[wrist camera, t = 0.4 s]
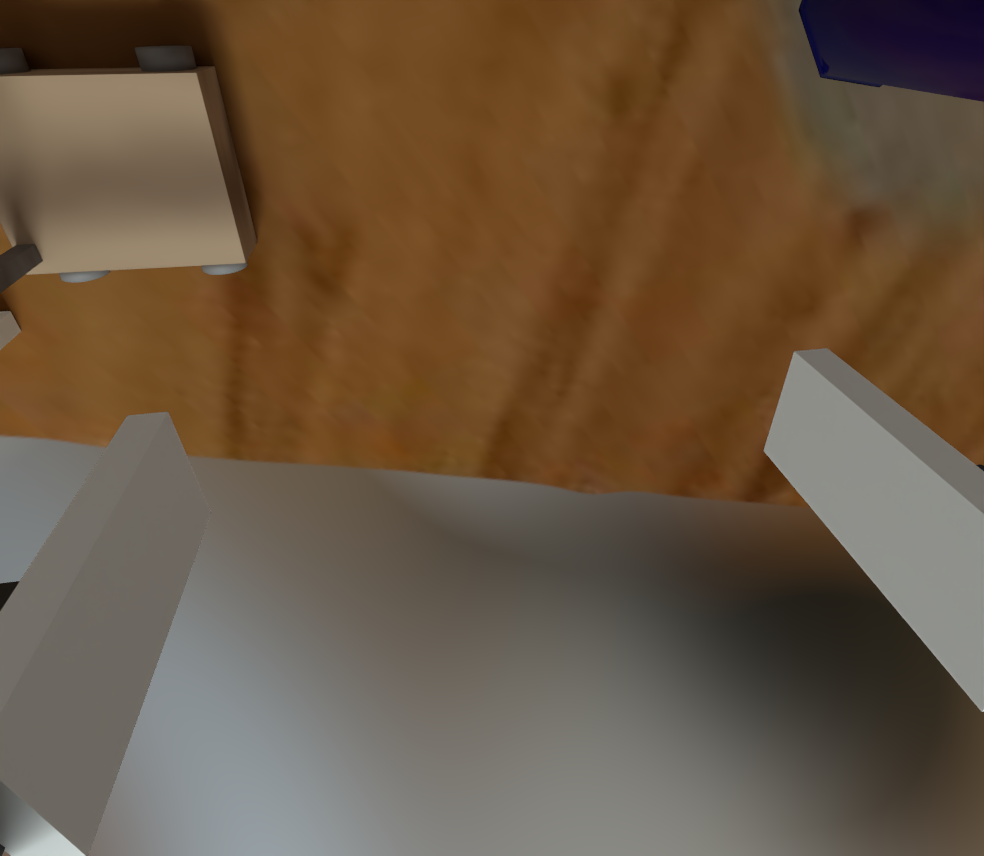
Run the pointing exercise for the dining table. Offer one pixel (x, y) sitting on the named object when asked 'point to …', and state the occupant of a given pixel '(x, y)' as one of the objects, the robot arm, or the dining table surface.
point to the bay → (7, 328)
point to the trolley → (118, 169)
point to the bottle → (900, 43)
